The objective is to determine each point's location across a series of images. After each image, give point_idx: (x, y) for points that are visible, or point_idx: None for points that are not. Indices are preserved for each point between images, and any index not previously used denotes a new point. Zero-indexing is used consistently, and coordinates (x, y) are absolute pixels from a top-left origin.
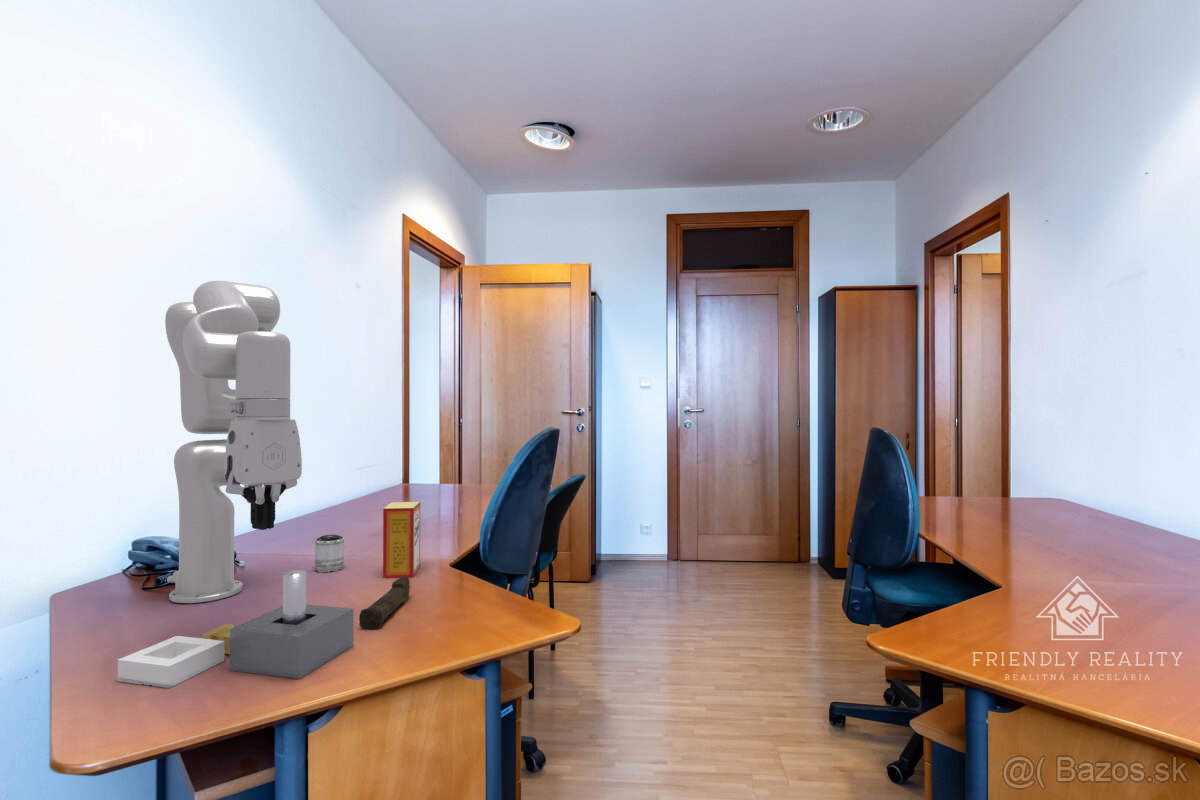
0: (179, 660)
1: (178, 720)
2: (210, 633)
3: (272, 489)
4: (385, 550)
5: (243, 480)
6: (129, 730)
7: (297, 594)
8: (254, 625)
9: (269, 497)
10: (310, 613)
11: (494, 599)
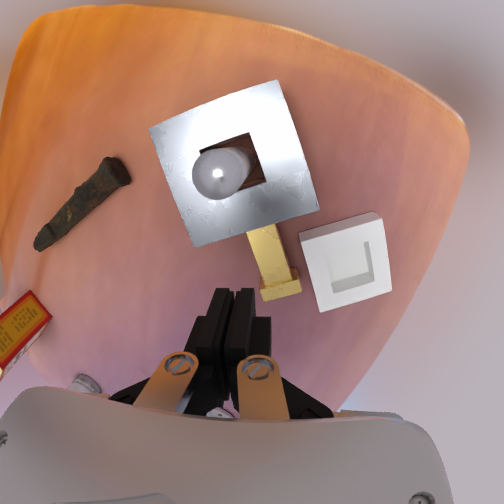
0: (366, 226)
1: (403, 123)
2: (295, 284)
3: (180, 405)
4: (31, 333)
5: (424, 434)
6: (432, 149)
7: (230, 148)
8: (289, 192)
9: (201, 382)
10: None
11: (8, 142)
